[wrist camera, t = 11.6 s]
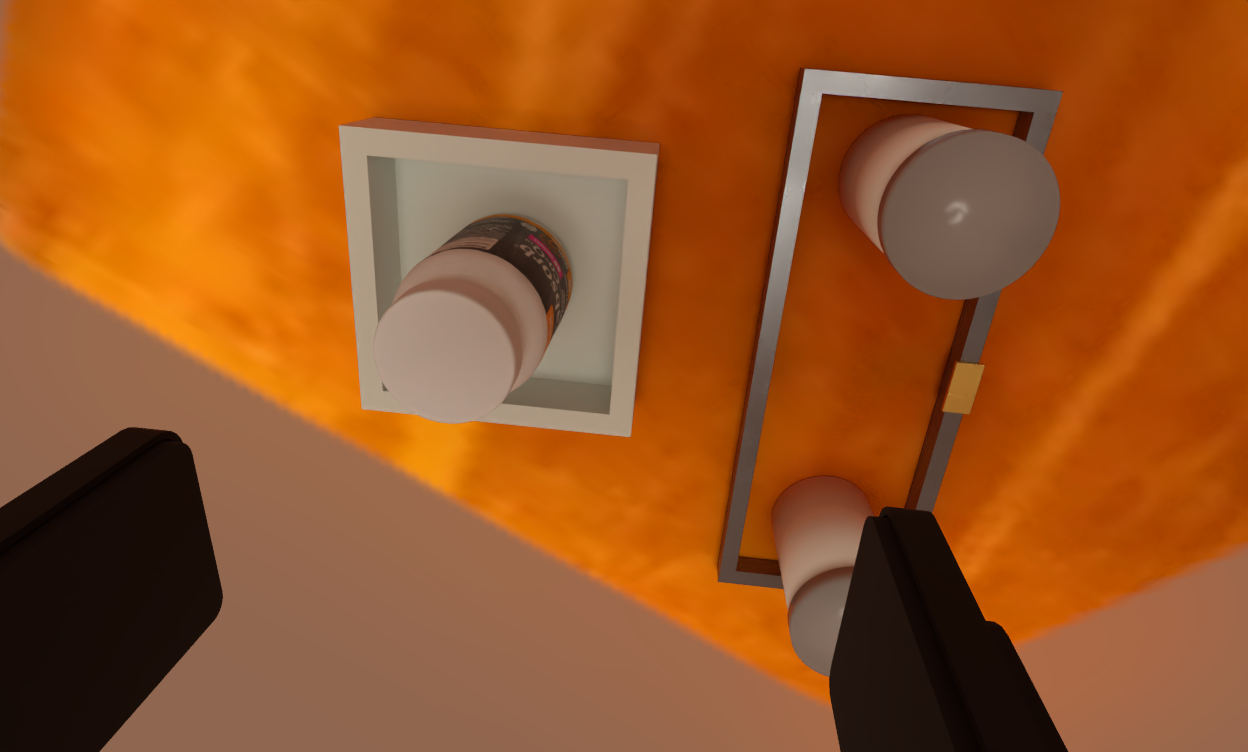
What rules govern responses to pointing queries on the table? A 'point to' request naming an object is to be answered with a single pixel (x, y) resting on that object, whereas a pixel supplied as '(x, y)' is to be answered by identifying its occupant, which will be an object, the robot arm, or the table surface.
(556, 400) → the tray
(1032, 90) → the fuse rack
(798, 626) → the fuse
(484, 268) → the pill bottle
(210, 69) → the table surface
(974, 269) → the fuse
